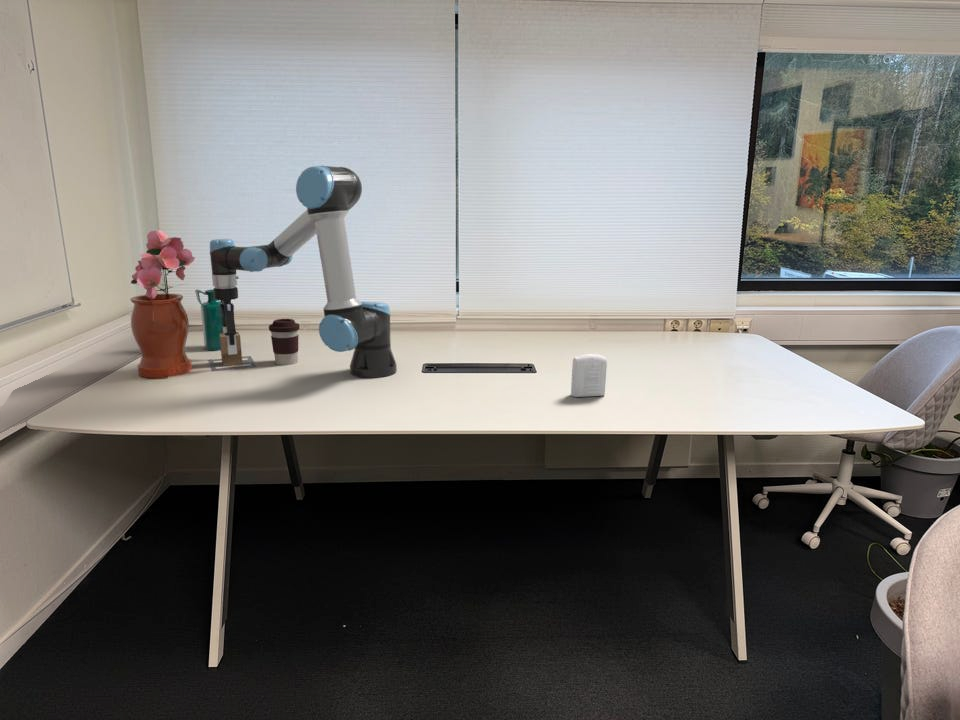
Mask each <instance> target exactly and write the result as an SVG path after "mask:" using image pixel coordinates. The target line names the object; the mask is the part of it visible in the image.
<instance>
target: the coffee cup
mask: <svg viewBox="0 0 960 720" xmlns="http://www.w3.org/2000/svg"><path fill="white" fill-rule="evenodd" d="M300 329H301V327H300V324H299V323H297V322H296V321H295V319H292V318H278V319H274V320H273V322H272V324H269V325H268V331H270V333H271V336H270V339H271V344H272V352H273V355H274V361H275V364H276V365H278V366H290V365H296V364H297V363H298V361H299V360H298V359H299V354H298V352H299V333H298V331H300Z"/></svg>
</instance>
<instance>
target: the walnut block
mask: <svg viewBox="0 0 960 720" xmlns="http://www.w3.org/2000/svg"><path fill="white" fill-rule="evenodd" d="M219 336H220V347H221V350H220V355H221V358H220V359H222V364H223V366H232V365H242V357H243V355H242V354H243V353H242V344H241V335H240V333H239V331H236V345H237V354H232V355H228V345H227V336H225V333H219Z"/></svg>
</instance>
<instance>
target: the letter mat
mask: <svg viewBox="0 0 960 720" xmlns="http://www.w3.org/2000/svg"><path fill="white" fill-rule="evenodd" d="M208 363H209V367H210V370H211V372H218V371H221V372H222V371H231V370H240V369H248V368H250V369H251V368H257V364H256V362H255V361H254V359H253V358H252V356H251V355H248V356H247V355H246V356H245V355H244V356H242V365H232V366H223V364H222V358H217V359H215V358H213V359H208Z"/></svg>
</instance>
